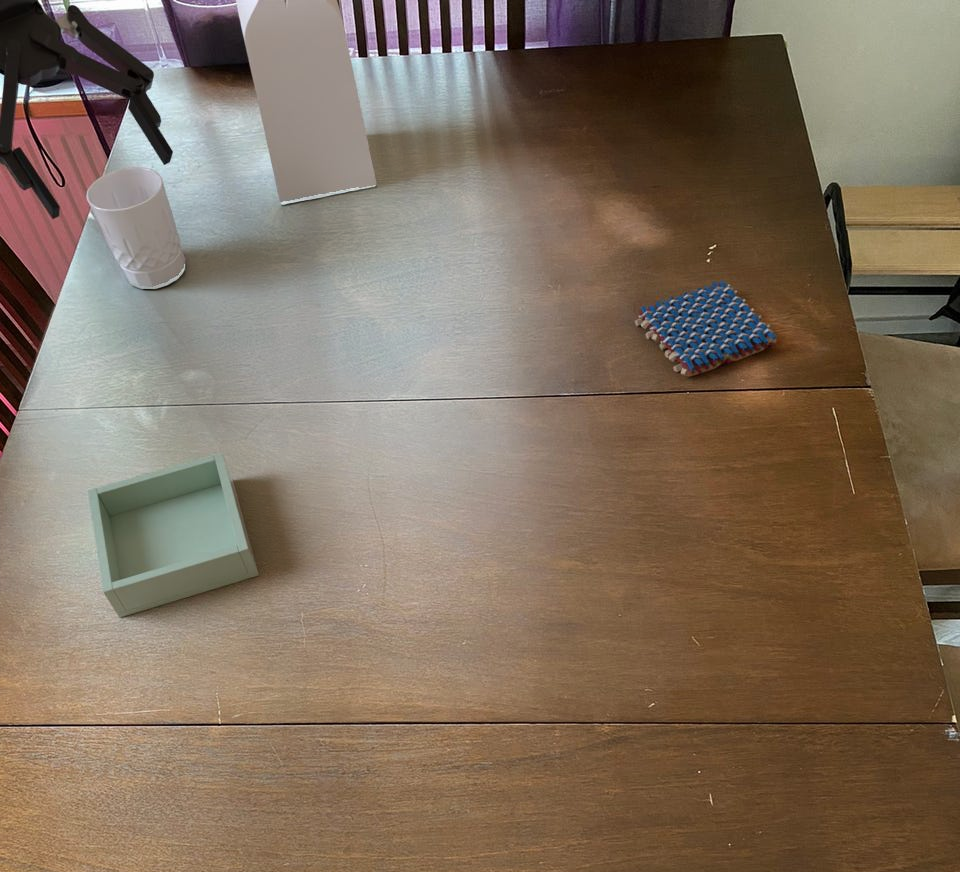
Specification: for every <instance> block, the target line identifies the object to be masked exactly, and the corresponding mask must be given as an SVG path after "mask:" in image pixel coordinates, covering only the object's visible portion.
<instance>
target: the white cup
mask: <svg viewBox="0 0 960 872" xmlns="http://www.w3.org/2000/svg"><path fill="white" fill-rule="evenodd" d="M85 197H86V201H87V203H88V205H89V207H90V209H91V211H92V213H93V215H94V218H95V219H96V221H97V224H98V226H99V228H100V230H101V232H102V234H103V237H104V238H105V241H106V243H107V245H108V247H109V248H110V251H111V252H112V254H113V256H114V258H115V261H116V262H117V263H118V265H119V266H120V269H121V271H122V274H123V275H124V277H125V279H126V278H127V279H128V280H127V279H126V280H127V282H128V281H129V282H131V283H134V284H136V285H138V286H145V287H146V286H147V287H153V286H156V285H159V284H162V283H166V282H168V281H169V280H170V279H172V278H174V277H176V276H178V275H179V273H180V272H181V270H182V269H183V268H184V264H185V261H186V258H185V254H184V250H183V247H182V245H181V239H180V235H179V234H180V233H179V232H178V228H177V225H176V220H175V217H174V213H173V210H172V207H171V204H170V201H169V197H168V195H167V191H166V187H165V184H164V181H163V177H162V176H161V174H160V173H159V172H157V171H156V170H153V169H152V168H148V167H144V166H143V167H142V166H130V167H123V168H118V169H115V170H112V171H110V172H107V173H105V174H103V175H101V176H100V177H98V178H97V179H95V180H94V181H93V182H92V183H91V185H90V186H89V187H88V189H87V191H86V195H85ZM129 282H128V283H129Z"/></svg>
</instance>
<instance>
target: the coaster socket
mask: <svg viewBox="0 0 960 872" xmlns="http://www.w3.org/2000/svg"><path fill="white" fill-rule="evenodd" d="M87 496H88V503H89V509H90V515H91V522H92V528H93V535H94V541H95V548H96V555H97V561H98V569H99V575H100V581H101V587H102V593H103V594H104V596H105V597H106V599H107V601H108V602H109V604H110V606H111V607H112V609H113V611H114V612H115V613H116V615H117V617H118V618H123V617H126V616H130V615H134V614H136V613H140V612H143V611H146V610H151V609H153V608H156V607H159V606H163V605H166V604H169V603H173V602H176V601H179V600H183V599H185V598H188V597H192V596H196V595H199V594H203V593H205V592H208V591H212V590H216V589H219V588H222V587H226V586H228V585H232V584H235V583H238V582H242V581H245V580H249V579H252V578H254V577H259V576H260V573H259V569H258V566H257V562H256V559H255V556H254V551H253V548H252V544H251V540H250V537H249V533H248V529H247V525H246V523H245V519H244V514H243V510H242V507H241V504H240V501H239V496H238V493H237V489H236V485H235V482H234V479H233V476H232V473H231V471H230V468H229V466H228V463H227V461H226V459H225V456H224V453H223V452H222V451H219V452H217V453H214V454H210V455H207V456H203V457H200V458H196V459H193V460H189V461H185V462H182V463H179V464H176V465H171V466H168V467H165V468H161V469H158V470H154V471H150V472H147V473H144V474H141V475H137V476H134V477H129V478H126V479H123V480H119V481H115V482H112V483H108V484H105V485H102V486H98V487H93V488H91V489H87Z"/></svg>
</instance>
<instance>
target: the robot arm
mask: <svg viewBox="0 0 960 872" xmlns="http://www.w3.org/2000/svg"><path fill="white" fill-rule="evenodd" d="M66 11H67V12H66V13H64V14H63V15H61V16H59V17H58V18H56V19H53V17H51V16H50V15H48V14H47V13H46V11H45V10H44V8H43V5H41V3H40V1H39V0H0V75H2V76H3V85H2V96H1V103H0V164H1V165H3V166H4V167H5V169H7V171H8V172H9V174H10V176H11V177H12V178H13V180H14V182H15V183H16V185H17V186H18V187H19V188H20V189H21V190H23V192H25V191H26V190H27V191H28V190H29V189H31V190H32V191H33V193H34V194H35V196H36V197H37V198H38V200H39V201H40V203H41V204H42V207H44V209H45V210H46V212H47V213H48V215H49V217H50V218H51V219H52V220H54V219H57V218H59V217H60V211H61V207H60V206H61V205H60V204H59V203H58V202H57V200H56V198H55V196H54V195H53V194H52V193H51V191H50V189H49V188H48V186H47V185H46V183H45V182H44V180H43V179H42V178H41V176H40V175H39V172H37V170H36V168H35V167H34V166H33V164H32V163H31V161H30V159H29V158H28V156H27V155H26V153H25V152H24V151H23V149H22V147H21V146H18V147H16V148H14V149H13V140H14V130H15V122H16V121H15V120H16V112H17V111H16V110H17V102H18V95H19V85H22V86H28V87H29V88H30V87H32V86H35V85H37V84H38V83H39V82H40V81H41V80H47V79H51V78H53V77H56V76H57V73H58V72H59V71H61V72H63V73H65V74H67V75H70V76H71V75H75V76H76V77H78V78H81V79H83V80H86V81H88V82H90V83H91V84H94V85H96V86H98V87H100V88H102V89H105V90H106V91H109V92H111V93H113V94H115V95H118V96H119V97H122V98H124V99H126V100H128V105H127V109H128V111H129V112H130V114H131V115H132V117H133V119H134V120H135V121H136V123H137V125H138V127H139V128H140V129H141V131H142V133H143V134H144V136H145V138H146V139H147V141H148V142H149V144H150V145H151V147H152V149H153V150H154V152H155V153H156V155H157V156H158V158H159V159H160V161H161V163H162V164H163V166H166V165H167V164H170V163H171V160H172V157H173V154H174V150H173V148H172V147H171V146H170V144H169V143H168V141H167V139H166V138H165V136H164V135H163V133H162V132H161V130H160V127H161V123H162V118H161V114H160V113H159V111H158V110H157V108H156V107H155V105H154V103H153V102H152V100H151V99H150V97H149V95H148V93H147V92H148V91H149V90H151V89H152V87H153V81H154V77H155V73H154V72H155V71H154V70H152V69H151V68H150V67H149V66H148V65H146V64H145V63H144V62H142V61H141V60H140V59H138V58H137V57H136V56H134V55H133V54H132V53H130V52H129V51H128V50H126V49H125V48H123V47H122V46H121V45H120V44H118V42H116V41H114V40H113V39H112V38H110V37H109V36H108V35H107V34H105V33H104V32H102V31H101V30H100V29H98V28H97V27H96V26H95V25H93V24H92V23H91V22H90V21H89V20H88V18H87V17H86V16H85V15H84V13H83V12H82V11H81V9H80V8H79V6H77V5H75V4H70V5H69V6H67V10H66ZM62 34H66V35H68V36H69V37H70V38H72V39H73V40H75V39H77V40H79V42H80V43H81V44H82V45H83V46H85V47H86V48H87V49H88V50H90V51H91V52H92V53H94V54H95V55H97V56H98V57H99V58H101V59H102V60H104V61H105V62H106V63H107V64H109V65H110V66H108V65H107V64H104V63H102V62H100V61H99V60H96V59H94V58H92V57H90V56H88V55H86V54H84V53H81V52H79V51H78V50H77V48H75V47H74V46H72V45H70V44H68V43H66V42H65V41H62Z"/></svg>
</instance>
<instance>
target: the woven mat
mask: <svg viewBox="0 0 960 872" xmlns="http://www.w3.org/2000/svg"><path fill="white" fill-rule="evenodd" d="M710 285H711V286H708V285H707V286H704V287H703V289H702V286H701V287H700V286H699V287H698V288H697V289H696V290H692V291H690V292H689V293H688V291H685V292H684V293H682V294H683V295H676V296H675V298H674V296H671V297H669V298H668V300H662V301H661V303H660V300H658V301H656V302H655V304H654V305H648V306H647V308H646V306H641V308H640V310H638V319H635V320H634V322H635V326H637V327H638V326H641V327H642V328H643V329H644V330H647V329H648V330H649V331H647V332H646V333H645V338H646V339H647V340H652V341H654V342H656V343H660V344H659V348H660V350H661V351H665V352H664V356H665V357H666V359H668V360H669V361H670V362H672V363H674V362H676V363H677V362H678V363H679V364H676V365H674V366H673V371H674V372H676V373H678V372H680V375H682V376H684V377H689V378H690V377H694V376H697V375H700V374H702V373H706V372H709V371H711V370H715V369H716V368H718V367H719V366H721V365H722V364H730V363H732V362H737V361H740V360H742V359H746V358H747V357H749V356H752V355H755V354H757V353H761V352H763V351H764V350H765V349H767V348H775V347H776V343H777V336H776V334H775V333H774V332H773V330H772V329H770V328H771V325H770V324H768V325H767V324H766V322H762V321H761V320H760V319H762V315H759V316H758V314H757V313H756V312H753V311H755V309H754V308H750V307H749V304H748V303H745V302H746V301H747V300H746V299H745V298H742V297H740V296H736V294H737V292H738V291H737V290H735V291H734V288H733V287H731V285H730V283H728V284H727V283H726V282H725V281H718V282H716V281H714V282H711V284H710ZM661 304H662V305H661ZM666 349H667V350H666Z"/></svg>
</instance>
